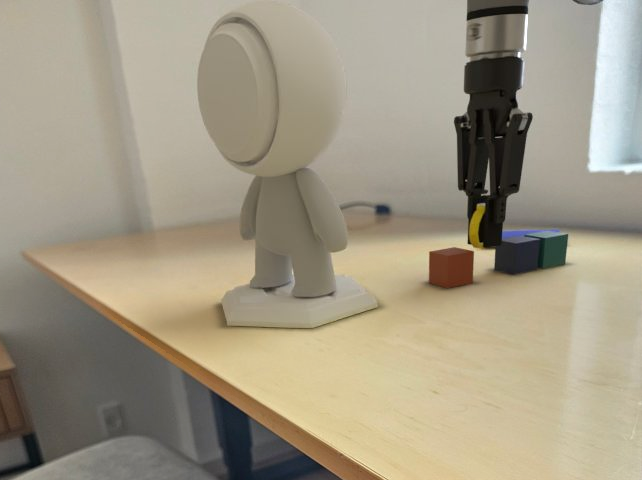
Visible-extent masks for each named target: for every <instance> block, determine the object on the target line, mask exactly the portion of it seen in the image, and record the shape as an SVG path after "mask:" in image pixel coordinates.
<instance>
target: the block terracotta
mask: <svg viewBox="0 0 642 480" xmlns="http://www.w3.org/2000/svg"><path fill="white" fill-rule="evenodd" d="M428 258H429V259H428V284H432V285H435V286H438V287H443V288H445V289H450V288H455V287H461V286H465V285H470V284H473V282H474V266H475V265H474V264H475V262H474V259H475V251H474V250H470V249H465V248H461V247H456V246H453V247H447V248H442V249H435V250H431V251H429V252H428Z"/></svg>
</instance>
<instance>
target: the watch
mask: <svg viewBox="0 0 642 480" xmlns="http://www.w3.org/2000/svg"><path fill="white" fill-rule="evenodd" d="M476 209H477V210H476V211H475V212H474V214H473V217H472V219H471V223H470V228H469V238H470V242H471V244H472V245H471V246H472V247H473V248H476V249H483V248H484V247H483V243H480V242H479V237H478V230H479V223H480V221H481V218H482V216H483V214H484V213H485V203H480V204H477V208H476Z"/></svg>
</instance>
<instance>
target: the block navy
mask: <svg viewBox="0 0 642 480" xmlns="http://www.w3.org/2000/svg"><path fill="white" fill-rule="evenodd" d="M539 244H540V239H536V238H530V237H524V236H514V237H508V238H503V239H502V245H501V246H495V247H494V265H493V266H494V267H493V270H494V271H498V272H501V273H506V274H510V275H518V274H523V273H524V274H525V273H528V272H533V271H537V270H538V269H539V268H538V256H539Z"/></svg>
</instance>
